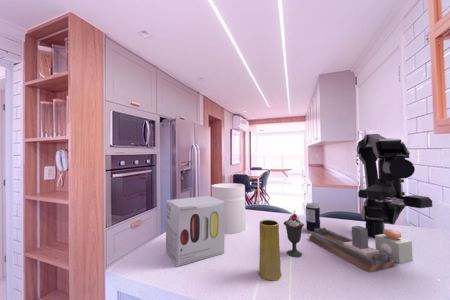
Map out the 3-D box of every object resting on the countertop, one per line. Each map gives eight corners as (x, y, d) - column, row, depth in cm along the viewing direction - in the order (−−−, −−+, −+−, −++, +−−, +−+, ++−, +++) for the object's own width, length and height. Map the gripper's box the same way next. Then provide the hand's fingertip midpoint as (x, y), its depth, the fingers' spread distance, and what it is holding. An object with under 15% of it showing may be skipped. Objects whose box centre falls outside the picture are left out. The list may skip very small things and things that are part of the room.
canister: (251, 225, 96) (250, 184, 97) (235, 236, 83) (234, 188, 84) (223, 220, 105) (223, 182, 106) (204, 229, 91) (204, 186, 92)
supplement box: (177, 268, 59) (177, 207, 60) (165, 251, 70) (165, 199, 71) (226, 253, 68) (225, 200, 69) (208, 240, 79) (208, 194, 80)
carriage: (355, 246, 68) (354, 223, 68) (379, 257, 60) (378, 230, 61) (343, 248, 67) (342, 224, 67) (366, 260, 59) (365, 232, 59)
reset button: (390, 242, 67) (389, 228, 67) (405, 248, 63) (404, 233, 63) (381, 244, 66) (380, 230, 66) (395, 250, 62) (395, 234, 62)
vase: (256, 268, 58) (255, 219, 59) (277, 267, 59) (275, 218, 59) (262, 281, 52) (261, 226, 53) (284, 280, 53) (283, 225, 53)
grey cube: (388, 250, 68) (387, 233, 69) (412, 260, 62) (411, 241, 62) (374, 253, 67) (374, 235, 67) (398, 264, 60) (397, 243, 60)
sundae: (295, 260, 63) (293, 212, 63) (280, 251, 69) (279, 208, 69) (309, 255, 66) (308, 210, 66) (293, 247, 72) (292, 206, 72)
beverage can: (322, 234, 84) (321, 205, 85) (307, 233, 85) (307, 205, 86) (318, 229, 90) (317, 202, 90) (305, 228, 91) (304, 202, 92)
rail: (329, 236, 82) (329, 226, 82) (394, 266, 59) (393, 252, 59) (309, 239, 79) (309, 229, 79) (369, 272, 56) (368, 257, 56)
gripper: (345, 174, 72) (347, 218, 71) (405, 179, 54) (409, 237, 53) (368, 174, 75) (370, 215, 74) (431, 178, 57) (435, 232, 57)
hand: (392, 223), depth 65 cm, fingers closed
